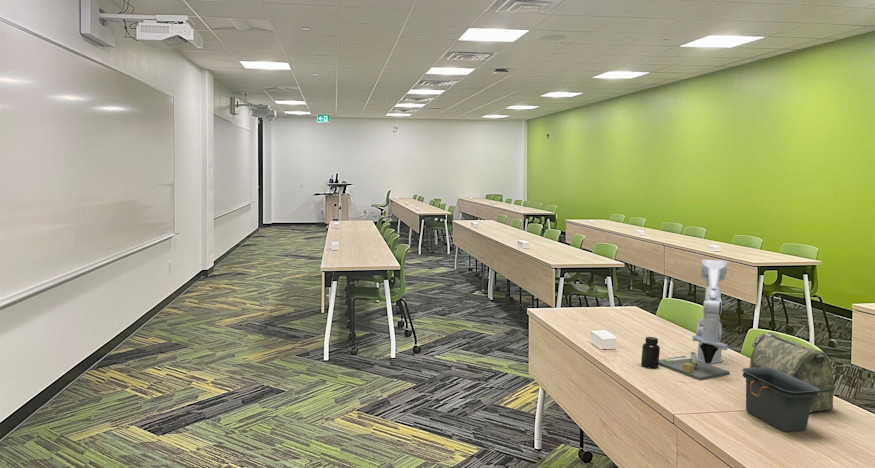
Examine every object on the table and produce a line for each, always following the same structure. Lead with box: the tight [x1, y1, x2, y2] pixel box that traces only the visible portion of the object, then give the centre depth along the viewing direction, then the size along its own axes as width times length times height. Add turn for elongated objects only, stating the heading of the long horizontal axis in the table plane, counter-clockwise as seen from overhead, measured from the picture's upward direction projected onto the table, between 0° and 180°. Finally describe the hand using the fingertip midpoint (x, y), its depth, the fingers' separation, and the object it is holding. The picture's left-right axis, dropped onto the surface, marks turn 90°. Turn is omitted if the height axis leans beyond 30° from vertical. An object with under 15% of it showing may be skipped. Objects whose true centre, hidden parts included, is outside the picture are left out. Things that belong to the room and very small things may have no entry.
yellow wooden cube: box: [682, 363, 694, 373], centre depth 227 cm, size 3×3×3 cm
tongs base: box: [659, 351, 731, 381], centre depth 235 cm, size 18×22×5 cm
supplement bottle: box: [640, 336, 661, 369], centre depth 236 cm, size 7×7×12 cm
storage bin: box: [741, 367, 820, 432], centre depth 184 cm, size 21×16×14 cm
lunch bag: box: [749, 331, 836, 412], centre depth 203 cm, size 26×18×22 cm
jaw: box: [690, 353, 698, 367], centre depth 235 cm, size 13×2×2 cm, turn 159°
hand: (708, 362), depth 228 cm, fingers closed
